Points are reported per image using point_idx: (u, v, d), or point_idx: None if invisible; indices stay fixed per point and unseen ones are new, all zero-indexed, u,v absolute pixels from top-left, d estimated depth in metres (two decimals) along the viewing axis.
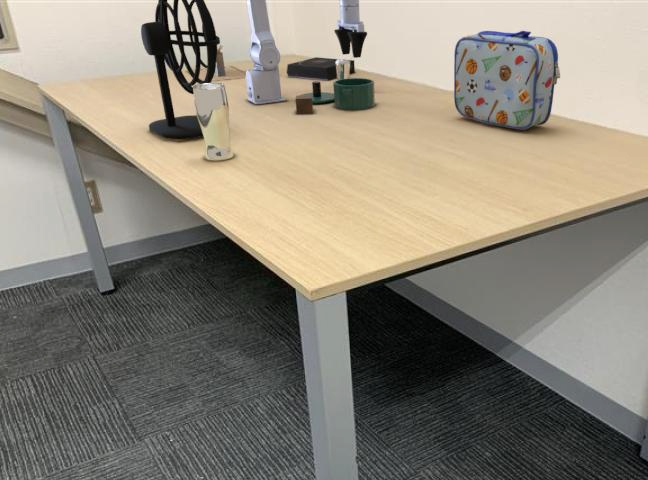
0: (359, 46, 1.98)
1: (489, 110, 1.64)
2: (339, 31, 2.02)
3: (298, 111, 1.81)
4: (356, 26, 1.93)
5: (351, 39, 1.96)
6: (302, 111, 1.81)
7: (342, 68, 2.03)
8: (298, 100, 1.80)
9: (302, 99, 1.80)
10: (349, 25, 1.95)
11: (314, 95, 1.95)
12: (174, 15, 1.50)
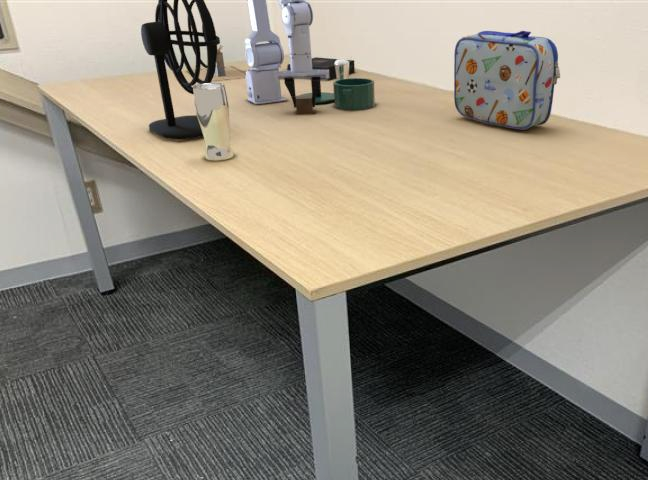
0: None
1: (489, 110, 1.64)
2: None
3: (298, 111, 1.81)
4: None
5: None
6: (302, 111, 1.81)
7: (341, 69, 2.02)
8: (298, 100, 1.80)
9: (302, 99, 1.80)
10: None
11: None
12: (174, 15, 1.50)
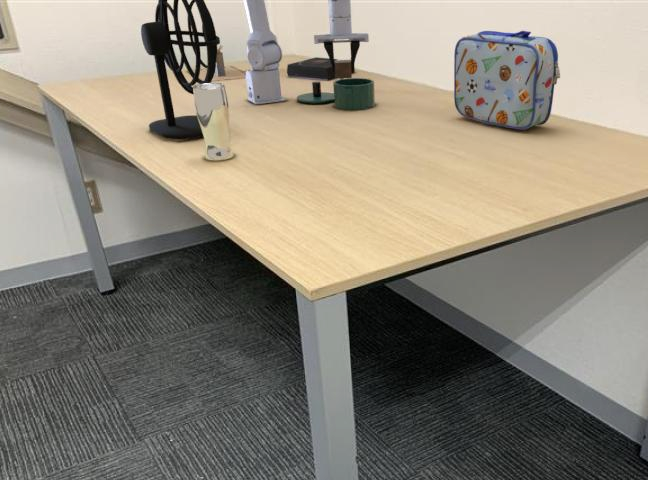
0: None
1: (489, 110, 1.64)
2: (350, 44, 1.81)
3: (337, 75, 1.81)
4: None
5: None
6: (341, 75, 1.81)
7: None
8: (337, 64, 1.80)
9: (341, 63, 1.80)
10: None
11: (314, 95, 1.95)
12: (174, 15, 1.50)
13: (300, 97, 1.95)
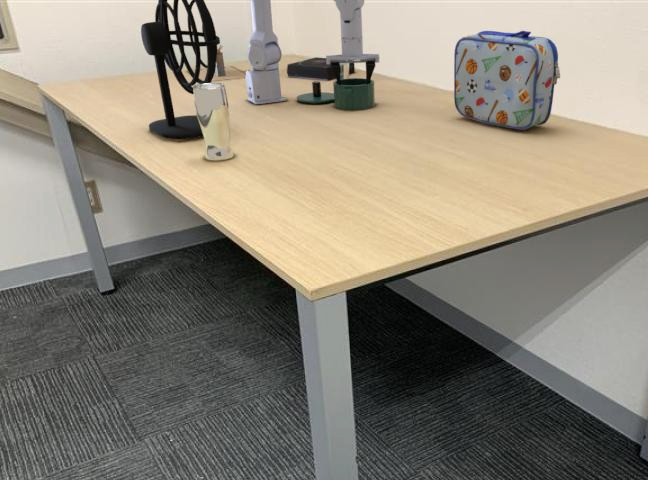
0: None
1: (489, 110, 1.64)
2: None
3: None
4: None
5: None
6: None
7: (341, 69, 2.02)
8: None
9: None
10: None
11: (314, 95, 1.95)
12: (174, 15, 1.50)
13: (300, 97, 1.95)
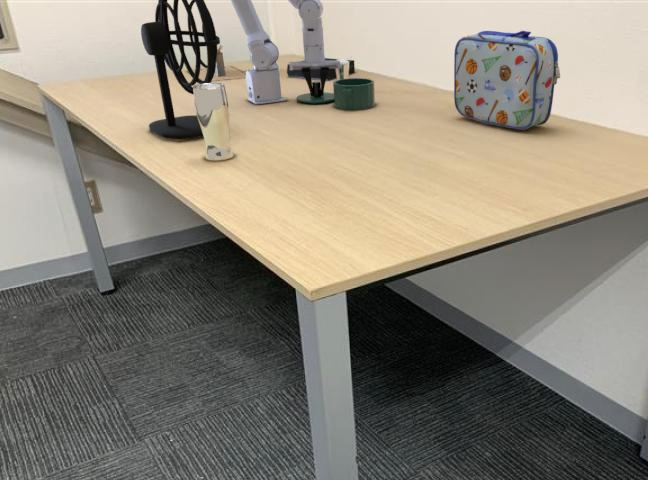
0: None
1: (489, 110, 1.64)
2: None
3: None
4: None
5: None
6: None
7: (341, 69, 2.02)
8: None
9: None
10: None
11: (314, 95, 1.95)
12: (174, 15, 1.50)
13: (300, 97, 1.95)
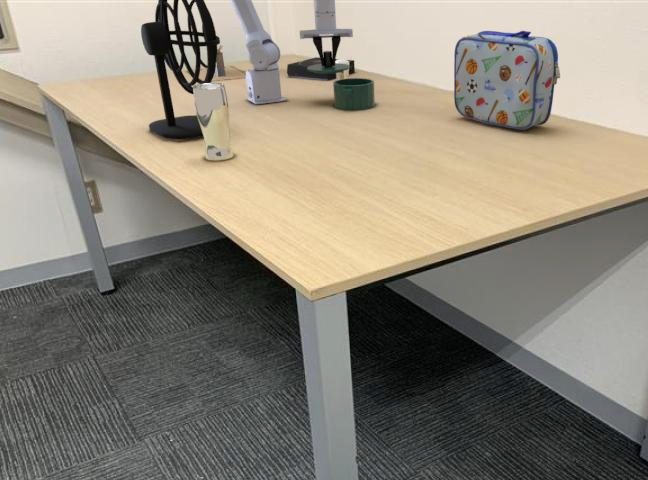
0: None
1: (489, 110, 1.64)
2: None
3: None
4: None
5: None
6: None
7: None
8: None
9: None
10: None
11: (325, 65, 1.88)
12: (174, 15, 1.50)
13: (311, 67, 1.88)
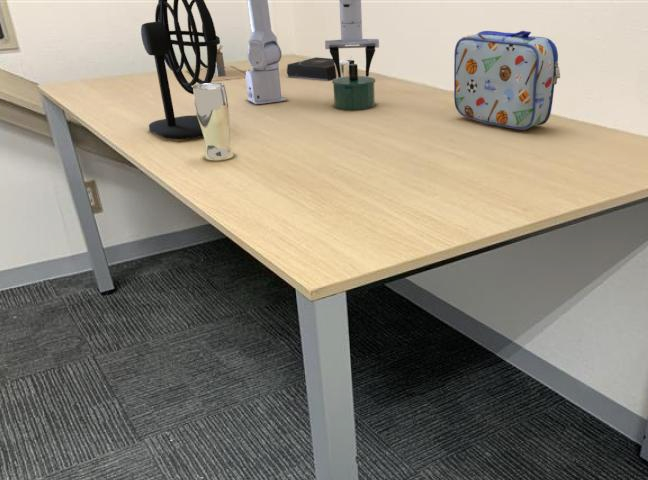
0: None
1: (489, 110, 1.64)
2: (365, 49, 1.84)
3: None
4: None
5: None
6: None
7: (341, 69, 2.02)
8: None
9: None
10: None
11: (350, 78, 1.85)
12: (174, 15, 1.50)
13: (336, 80, 1.85)
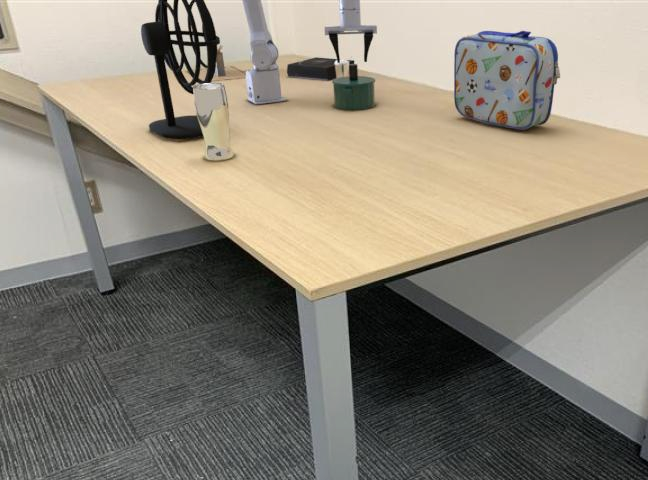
0: None
1: (489, 110, 1.64)
2: None
3: None
4: None
5: None
6: None
7: (341, 69, 2.02)
8: None
9: None
10: None
11: (350, 78, 1.85)
12: (174, 15, 1.50)
13: (336, 80, 1.85)
